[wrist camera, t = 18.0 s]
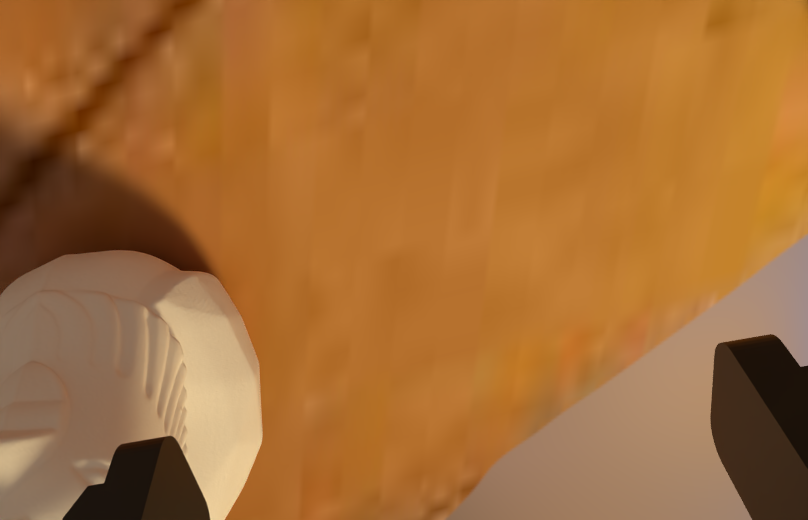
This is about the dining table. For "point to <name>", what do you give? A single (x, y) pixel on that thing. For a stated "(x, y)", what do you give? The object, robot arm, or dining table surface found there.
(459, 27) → the dining table surface
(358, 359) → the dining table surface
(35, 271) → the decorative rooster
